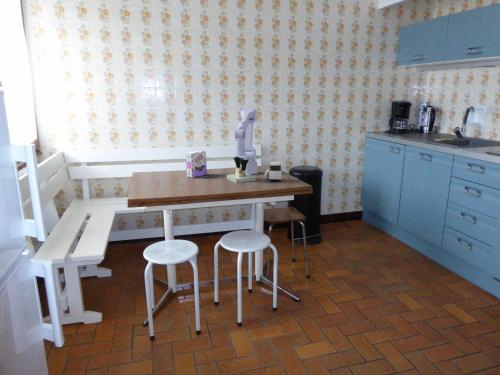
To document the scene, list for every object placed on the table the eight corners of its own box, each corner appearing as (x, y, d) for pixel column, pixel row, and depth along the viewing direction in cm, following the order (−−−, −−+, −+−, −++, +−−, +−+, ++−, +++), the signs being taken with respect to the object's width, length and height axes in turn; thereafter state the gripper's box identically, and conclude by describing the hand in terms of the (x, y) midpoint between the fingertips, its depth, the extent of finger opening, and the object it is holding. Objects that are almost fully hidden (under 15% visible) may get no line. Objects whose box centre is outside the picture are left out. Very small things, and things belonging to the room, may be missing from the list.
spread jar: (280, 182, 239) (280, 163, 236) (262, 181, 241) (262, 163, 239) (282, 178, 251) (282, 160, 248) (265, 177, 253) (265, 160, 250)
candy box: (192, 178, 253) (191, 153, 249) (186, 177, 257) (185, 152, 253) (207, 174, 264) (206, 150, 260) (200, 173, 267) (200, 150, 263)
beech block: (242, 174, 251) (242, 167, 249) (246, 176, 246) (245, 168, 245) (235, 175, 248) (235, 168, 247) (239, 177, 244) (238, 169, 243)
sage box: (246, 177, 257) (246, 173, 256) (255, 181, 245) (255, 176, 244) (226, 179, 251) (226, 175, 250) (235, 183, 239) (235, 179, 238)
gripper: (230, 147, 248) (230, 168, 251) (240, 150, 235) (240, 171, 238) (240, 146, 251) (240, 167, 254) (250, 149, 238) (250, 170, 241)
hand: (241, 169), depth 246 cm, fingers open, 7 cm apart
